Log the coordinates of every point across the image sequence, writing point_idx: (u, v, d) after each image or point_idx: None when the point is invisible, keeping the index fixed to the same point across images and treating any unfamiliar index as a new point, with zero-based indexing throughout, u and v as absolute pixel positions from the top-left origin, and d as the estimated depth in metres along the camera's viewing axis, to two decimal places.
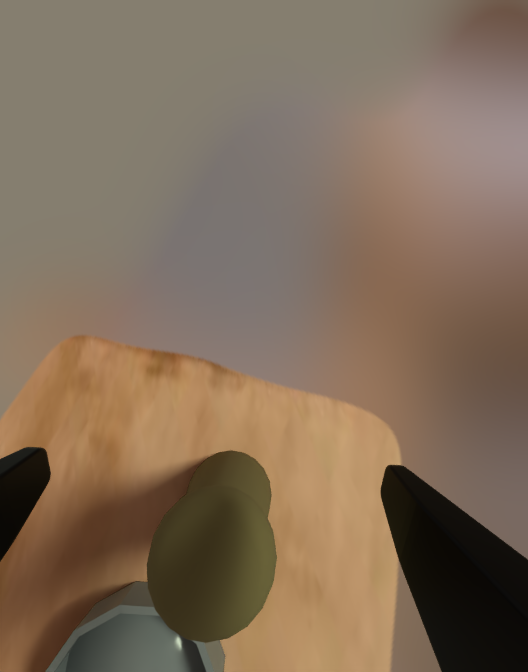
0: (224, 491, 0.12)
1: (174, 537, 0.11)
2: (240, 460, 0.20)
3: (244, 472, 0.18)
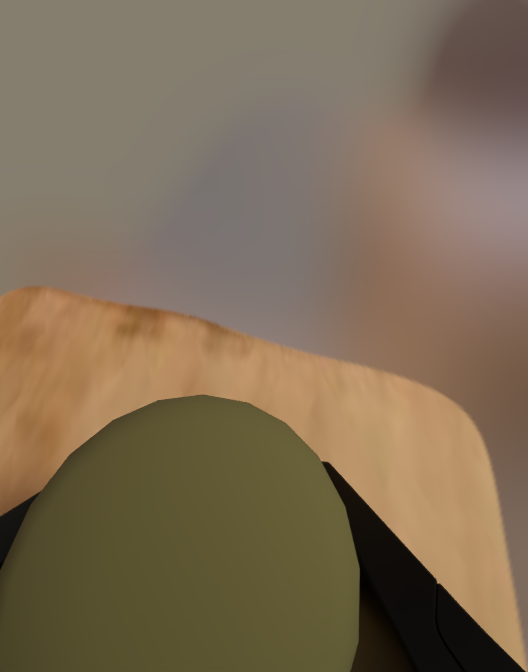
0: None
1: (85, 474, 0.04)
2: None
3: None
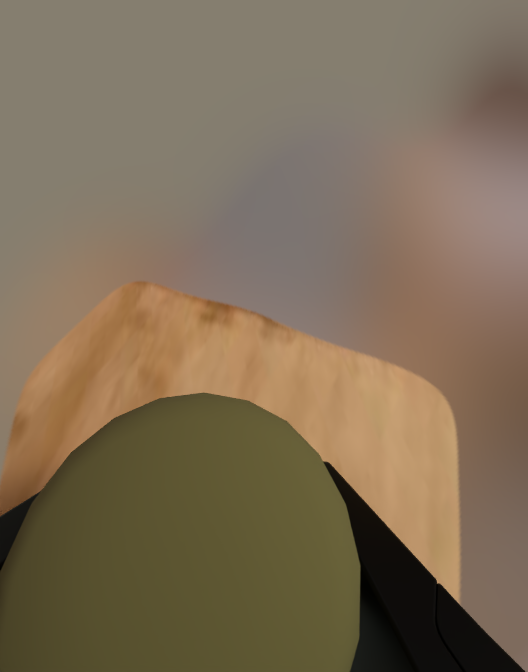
0: None
1: (87, 471, 0.04)
2: None
3: None
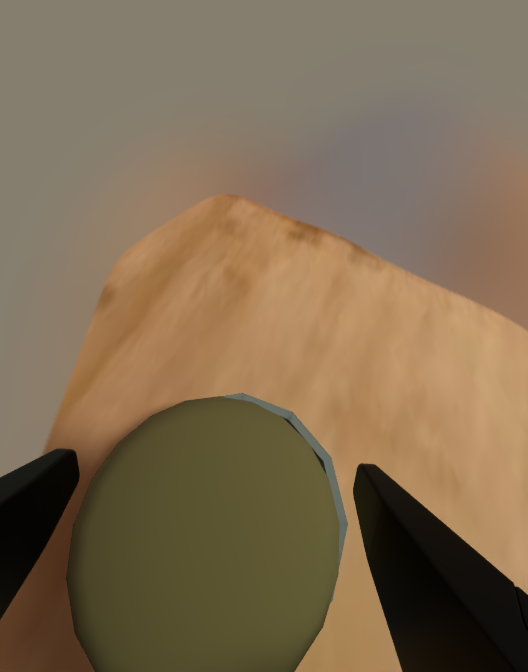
0: None
1: (138, 452, 0.05)
2: None
3: None
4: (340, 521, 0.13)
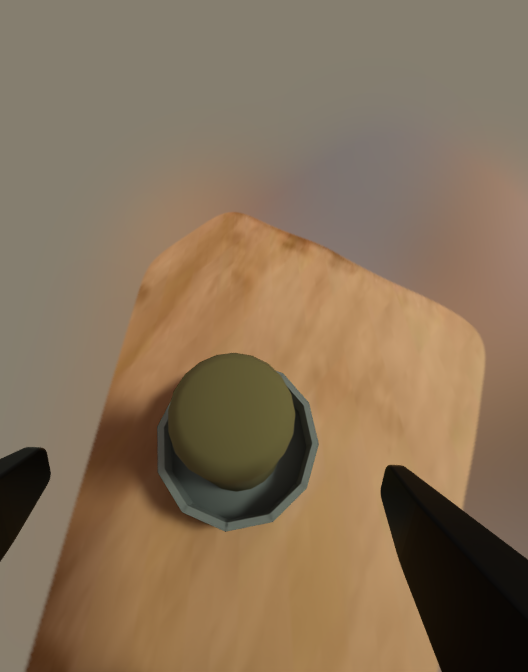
0: None
1: (198, 375, 0.11)
2: None
3: None
4: (313, 442, 0.19)
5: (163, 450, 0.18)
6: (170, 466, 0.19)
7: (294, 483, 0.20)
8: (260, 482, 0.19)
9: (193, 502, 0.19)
